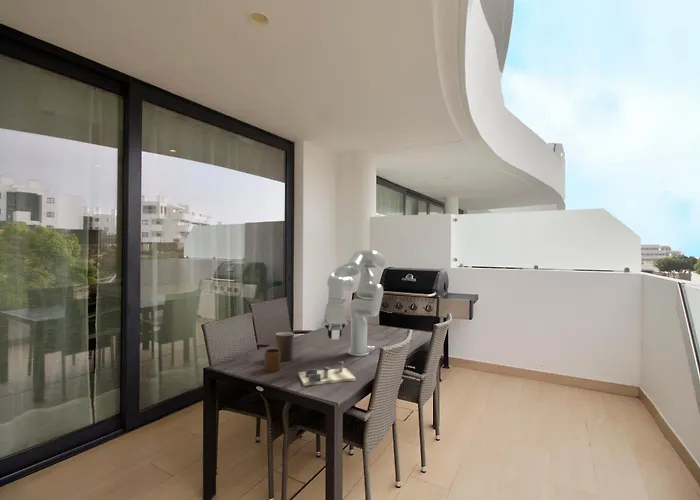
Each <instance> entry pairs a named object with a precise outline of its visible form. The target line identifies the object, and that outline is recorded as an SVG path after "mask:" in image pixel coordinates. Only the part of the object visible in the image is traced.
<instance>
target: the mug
mask: <svg viewBox="0 0 700 500" xmlns="http://www.w3.org/2000/svg"><path fill="white" fill-rule="evenodd" d="M280 369H281V361H280V350H279V348H270V349H266V350H265V351H264V371H265V372H267V373H276V372H279V371H280Z"/></svg>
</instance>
